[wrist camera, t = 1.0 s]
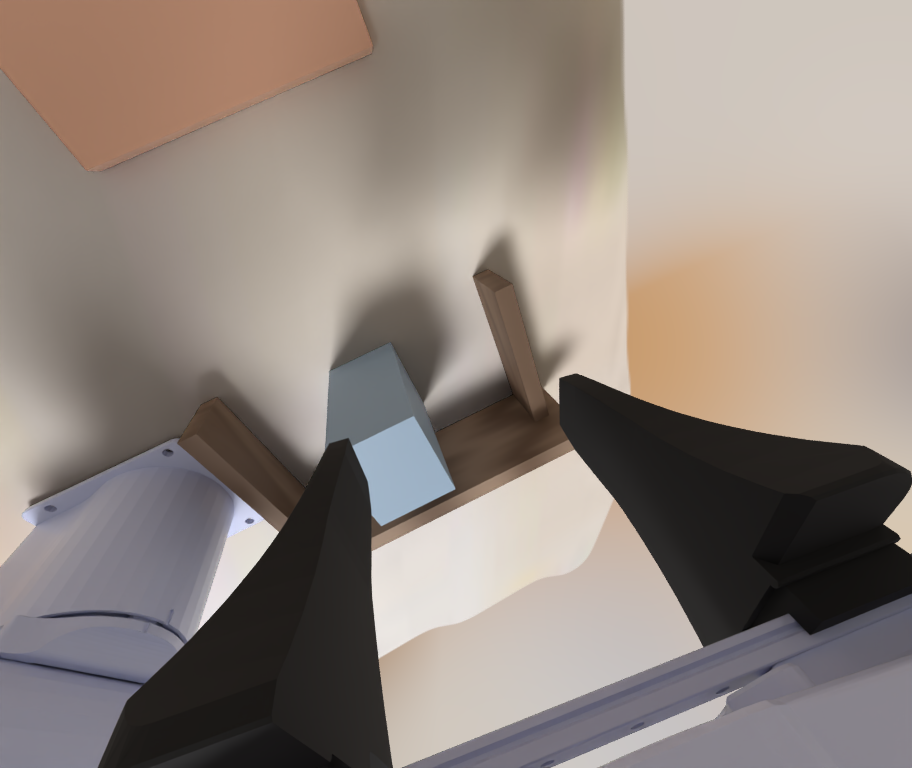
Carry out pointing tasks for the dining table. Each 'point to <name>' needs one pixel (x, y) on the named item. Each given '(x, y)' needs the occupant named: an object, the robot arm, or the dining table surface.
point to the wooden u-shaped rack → (462, 444)
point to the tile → (165, 63)
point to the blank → (387, 433)
